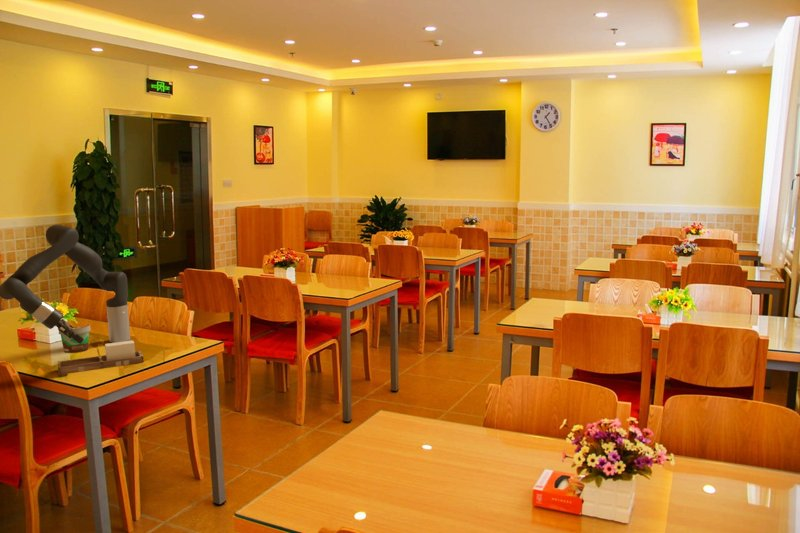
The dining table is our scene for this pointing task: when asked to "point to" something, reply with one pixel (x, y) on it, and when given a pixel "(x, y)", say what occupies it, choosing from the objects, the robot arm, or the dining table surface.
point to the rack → (95, 363)
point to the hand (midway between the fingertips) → (81, 339)
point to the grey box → (120, 350)
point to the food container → (73, 345)
